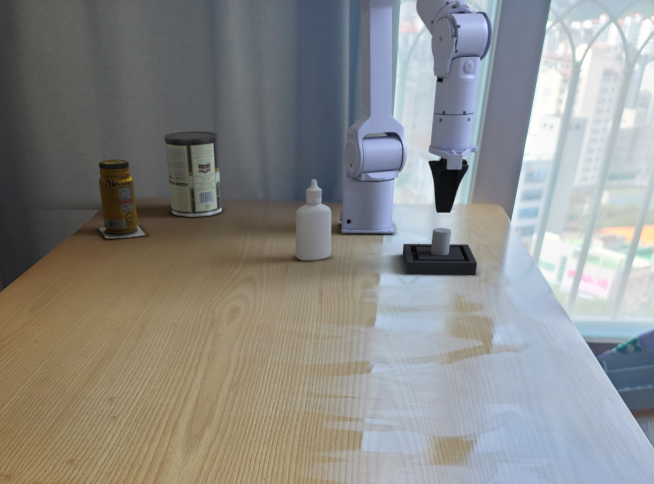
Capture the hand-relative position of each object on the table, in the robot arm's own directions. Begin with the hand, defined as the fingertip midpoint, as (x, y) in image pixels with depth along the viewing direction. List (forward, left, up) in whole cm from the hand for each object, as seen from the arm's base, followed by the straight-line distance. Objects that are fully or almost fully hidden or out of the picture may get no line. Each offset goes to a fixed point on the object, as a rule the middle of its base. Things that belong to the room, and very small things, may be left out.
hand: (443, 211), depth 115 cm
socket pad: (0, 0, -8) cm, 8 cm away
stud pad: (0, 0, -7) cm, 7 cm away
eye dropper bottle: (-20, +3, -8) cm, 22 cm away
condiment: (-56, +18, -8) cm, 59 cm away
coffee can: (-45, +35, -8) cm, 58 cm away
